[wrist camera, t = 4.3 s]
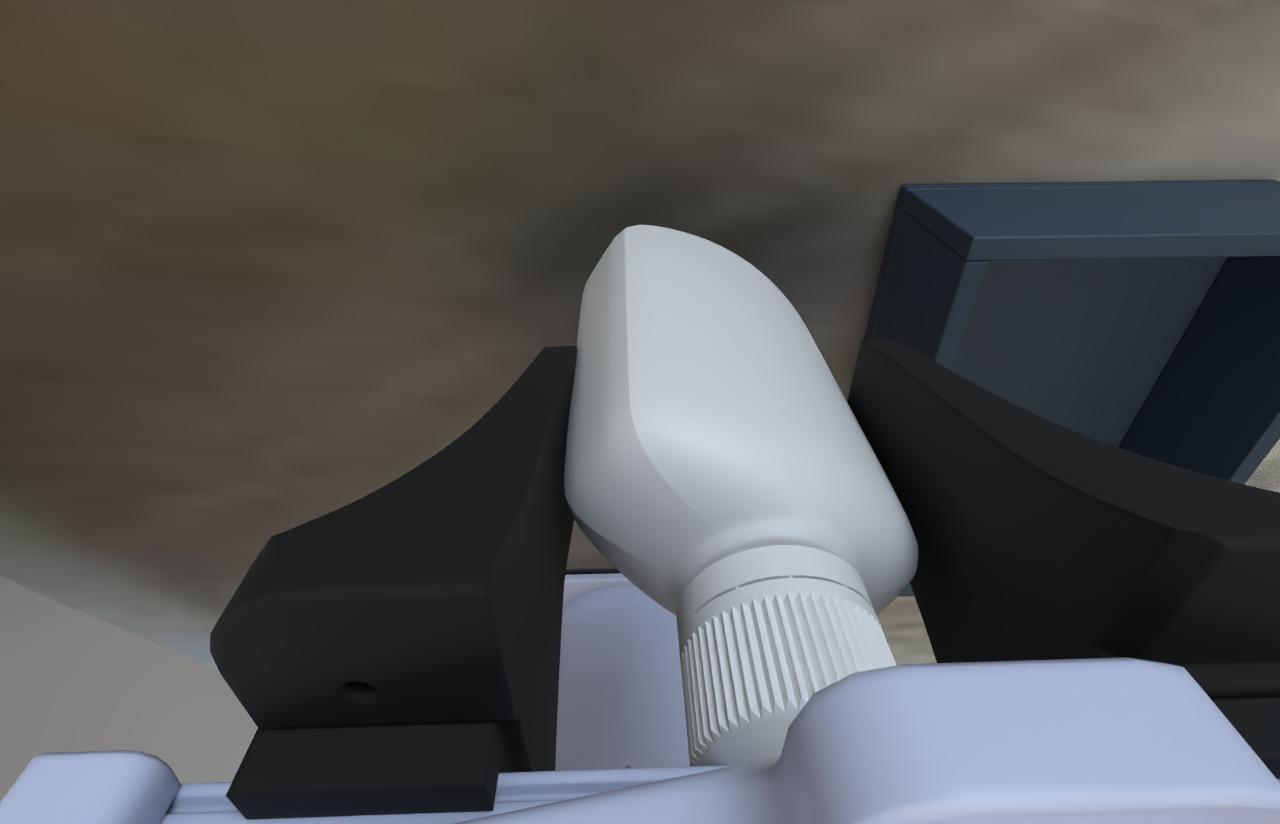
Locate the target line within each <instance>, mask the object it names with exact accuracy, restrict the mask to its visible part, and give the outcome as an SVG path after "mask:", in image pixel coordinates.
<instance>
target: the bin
mask: <svg viewBox="0 0 1280 824" xmlns="http://www.w3.org/2000/svg"><path fill="white" fill-rule="evenodd" d="M877 340H893V341H896V342H898V343H901V344H903V345H905V346H907V347H909V348H911V349H913V350H915V351H917V352H919V353H920V354H922V355H924V356H926V357H928V358H930V359H931V360H933V361H935V362H937V363H939V364H940V365H942V366H944V367H946V368H948V369H949V370H951V371H953V372H955V373H956V374H958V375H960V376H962V377H964V378H965V379H967V380H969V381H971V382H973V383H975V384H976V385H978V386H980V387H982V388H984V389H986V390H988V391H989V392H991V393H993V394H995V395H997V396H999V397H1001V398H1003V399H1005V400H1007V401H1009V402H1011V403H1013V404H1015V405H1017V406H1019V407H1021V408H1023V409H1025V410H1027V411H1029V412H1031V413H1034V414H1036V415H1038V416H1040V417H1042V418H1045V419H1047V420H1049V421H1051V422H1054V423H1056V424H1059V425H1061V426H1063V427H1066V428H1068V429H1071V430H1073V431H1076V432H1078V433H1081V434H1083V435H1086V436H1088V437H1090V438H1093V439H1096V440H1098V441H1101V442H1104V443H1107V444H1109V445H1112V446H1115V447H1118V448H1121V449H1124V450H1127V451H1130V452H1133V453H1136V454H1139V455H1142V456H1145V457H1148V458H1151V459H1154V460H1157V461H1160V462H1163V463H1167V464H1170V465H1173V466H1177V467H1180V468H1184V469H1187V470H1190V471H1194V472H1197V473H1201V474H1205V475H1209V476H1213V477H1217V478H1220V479H1224V480H1228V481H1232V482H1236V483H1239V484H1243V485H1244V484H1245V483H1246V482H1247V480H1248V479H1249V478H1250V476H1251V475H1252V474H1253V473H1254V471H1255V470H1256V469H1257V467H1258V466H1259V465H1260V463H1261V462H1262V461H1263V459H1264V458H1265V457H1266V455H1267V454H1268V453H1269V452H1270V450H1271V449H1272V448H1273V446H1274V445H1275V444H1276V442H1277V441H1278V440H1279V438H1280V182H1279V181H1276V180H1236V181H1157V182H1078V183H1000V184H921V185H902V186H901V191H900V195H899V199H898V203H897V208H896V212H895V216H894V220H893V224H892V229H891V233H890V237H889V241H888V246H887V250H886V254H885V258H884V262H883V267H882V271H881V275H880V279H879V284H878V288H877V292H876V296H875V301H874V305H873V309H872V313H871V317H870V322H869V326H868V330H867V334H866V339H865V341H877ZM899 596H914V593H913V590H912V587H911V585H910V583H909V584H908V586H907V587H906V588H905V590H904V591H903V592H902V593H901V594H900V595H899Z"/></svg>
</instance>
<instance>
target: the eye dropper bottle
mask: <svg viewBox="0 0 1280 824" xmlns="http://www.w3.org/2000/svg"><path fill="white" fill-rule="evenodd" d="M564 488H565V497H566V499H567V502H568V505H569V507H570V510H571V512H572V515H573V518H574V519H575V521H576V522H577V524H578V525H579V527H580V528H581V529H582V531H583V532H584V533H585V535H586V536H587V537H588V539H589V540H590V541H591V542H592V543H593V544H594V545H595V547H596V548H597V549H598V550H599V551H600V552H601V553H602V554H603V556H604V557H605V558H606V559H607V560H608V561H609V562H610V563H611V564H612V565H613V566H614V567H615V568H616V569H617V570H618V571H619V572H620V573H621V574H622V575H623V576H624V577H626V578H627V579H628V580H629V581H630V582H632V583H633V584H634V585H635V586H636V587H637V588H639V589H640V590H641V591H642V592H643V593H644V594H646V595H647V596H648V597H650V598H651V599H653V600H654V601H655V602H657V603H658V604H659V605H661V606H662V607H663V608H665V609H666V610H668V611H669V612H671V613H673V614H674V615H676V619H677V630H678V641H679V652H680V663H681V673H682V684H683V695H684V706H685V717H686V728H687V739H688V750H689V761H690V766H712V765H730V766H734V765H739V764H744V763H749V762H754V761H758V760H763V759H768V758H774V757H779V756H781V754H782V750H783V746H784V742H785V738H786V734H787V730H788V727H789V726H790V724H791V723H792V722H793V720H794V719H795V718H796V716H797V715H798V714H799V712H800V711H801V710H802V708H803V707H804V706H805V704H806V703H807V702H808V700H809V699H810V698H811V696H812V695H813V694H814V693H815V692H817V691H819V690H821V689H823V688H825V687H827V686H829V685H831V684H833V683H835V682H837V681H839V680H841V679H843V678H844V677H846V676H848V675H850V674H852V673H856V672H862V671H868V670H873V669H879V668H885V667H890V666H896V663H895V660H894V658H893V655H892V653H891V650H890V648H889V645H888V643H887V640H886V638H885V636H884V633H883V631H882V628H881V625H880V623H879V620H878V618H877V616H876V614H877V613H879V612H880V611H881V610H883V609H884V608H885V607H886V606H888V605H889V604H890V603H891V602H892V601H893V600H894V599H895V598H896V597H898V596H899V595H900V594H901V593H902V592H903V591H904V590H905V588H906V587H907V586H908V584H909V583H910V581H911V580H912V579H913V577H914V575H915V573H916V570H917V565H918V554H919V552H918V543H917V540H916V538H915V535H914V532H913V529H912V527H911V524H910V522H909V520H908V517H907V515H906V513H905V511H904V509H903V507H902V505H901V503H900V501H899V499H898V497H897V495H896V493H895V491H894V489H893V487H892V485H891V483H890V481H889V479H888V478H887V476H886V474H885V472H884V470H883V468H882V466H881V464H880V462H879V460H878V458H877V457H876V455H875V453H874V451H873V449H872V447H871V445H870V444H869V442H868V440H867V438H866V436H865V434H864V432H863V430H862V429H861V427H860V425H859V423H858V421H857V419H856V417H855V416H854V414H853V412H852V410H851V408H850V406H849V404H848V402H847V401H846V399H845V397H844V395H843V393H842V391H841V390H840V388H839V386H838V384H837V382H836V380H835V378H834V377H833V375H832V373H831V371H830V369H829V367H828V366H827V364H826V362H825V360H824V358H823V356H822V354H821V353H820V351H819V349H818V347H817V345H816V343H815V342H814V340H813V338H812V336H811V334H810V332H809V331H808V329H807V327H806V325H805V324H804V322H803V320H802V319H801V317H800V316H799V314H798V313H797V311H796V310H795V308H794V307H793V306H792V304H791V303H790V302H789V300H788V299H787V298H786V297H785V296H784V294H783V293H782V292H781V291H780V290H779V289H778V288H777V287H776V286H775V285H774V284H773V283H772V282H771V281H770V280H769V279H768V278H767V277H766V276H765V275H764V274H763V273H761V272H760V271H759V270H758V269H756V268H755V267H754V266H753V265H751V264H750V263H749V262H747V261H746V260H744V259H743V258H741V257H740V256H738V255H736V254H735V253H733V252H731V251H729V250H728V249H726V248H724V247H722V246H720V245H718V244H715V243H713V242H711V241H709V240H706V239H703V238H701V237H698V236H695V235H692V234H689V233H685V232H682V231H678V230H674V229H670V228H664V227H659V226H651V225H636V226H631V227H626V228H625V229H624V230H623V231H621V232H620V233H619V234H618V235H617V236H616V237H615V238H614V239H613V241H612V242H611V244H610V245H609V246H608V248H607V249H606V251H605V253H604V254H603V256H602V257H601V259H600V261H599V262H598V264H597V265H596V267H595V269H594V270H593V272H592V273H591V275H590V277H589V279H588V280H587V282H586V284H585V288H584V292H583V296H582V302H581V311H580V319H579V328H578V337H577V357H576V366H575V376H574V383H573V390H572V396H571V403H570V411H569V421H568V430H567V442H566V456H565V470H564Z"/></svg>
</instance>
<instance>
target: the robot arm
mask: <svg viewBox="0 0 1280 824" xmlns="http://www.w3.org/2000/svg"><path fill="white" fill-rule="evenodd" d="M576 357H577V346H564V347H545V348H544V349H543V350H542V351H541V352H540V353H539V354H538V356H537V357H536V358H535V359H534V361H533V362H532V363H531V364H530V366H529V367H528V368H527V369H526V371H525V372H524V373H523V374H522V375H521V376H520V378H519V379H518V380H517V381H516V382H515V383H514V385H513V386H512V387H511V388H510V389H509V390H508V391H507V392H506V393H505V395H504V396H503V397H502V398H501V399H500V400H499V401H498V402H497V403H496V404H495V405H494V406H493V407H492V408H491V409H490V410H489V411H488V412H487V413H486V414H485V415H484V416H483V417H482V418H481V419H480V420H479V421H478V422H477V423H476V424H475V425H473V426H472V427H471V428H470V429H469V430H467V431H466V432H465V433H464V434H463V435H461V436H460V437H459V438H458V439H456V440H455V441H454V442H452V443H451V444H450V445H448V446H447V447H446V448H444V449H443V450H442V451H440V452H439V453H437V454H436V455H435V456H433V457H431V458H430V459H428V460H427V461H425V462H424V463H422V464H420V465H419V466H417V467H416V468H414V469H413V470H411V471H409V472H408V473H406V474H405V475H403V476H402V477H400V478H398V479H397V480H395V481H393V482H391V483H389V484H388V485H386V486H384V487H382V488H380V489H378V490H376V491H375V492H373V493H371V494H369V495H367V496H365V497H363V498H361V499H359V500H357V501H355V502H353V503H351V504H349V505H346V506H344V507H342V508H340V509H338V510H336V511H333V512H331V513H329V514H326V515H324V516H321V517H319V518H317V519H314V520H312V521H309V522H307V523H305V524H302V525H300V526H297V527H295V528H292V529H290V530H288V531H285V532H283V533H280V534H277V535H274V536H272V537H271V538H270V540H269V541H268V543H267V544H266V545H265V547H264V548H263V550H262V551H261V552H260V554H259V555H258V557H257V558H256V560H255V561H254V563H253V564H252V566H251V567H250V569H249V571H248V572H247V574H246V576H245V577H244V579H243V580H242V582H241V584H240V585H239V587H238V589H237V590H236V592H235V594H234V595H233V597H232V599H231V600H230V602H229V604H228V605H227V607H226V608H225V610H224V612H223V613H222V615H221V617H220V618H219V620H218V622H217V623H216V625H215V627H214V629H213V630H212V632H211V634H210V652H211V654H212V657H213V659H214V661H215V663H216V665H217V667H218V670H219V671H220V673H221V675H222V676H223V678H224V679H225V681H226V682H227V683H228V685H229V686H230V688H231V689H232V691H233V692H234V693H235V695H236V696H237V698H238V699H239V701H240V702H241V704H242V705H243V706H244V708H245V709H246V711H247V712H248V713H249V715H250V716H251V718H252V719H253V721H254V722H255V724H256V725H257V726H258V730H257V731H256V734H255V736H254V738H253V740H252V742H251V744H250V746H249V748H248V750H247V752H246V754H245V756H244V759H243V761H242V763H241V765H240V767H239V769H238V771H237V773H236V775H235V777H234V779H233V781H232V782H217V783H187V784H180V782H179V780H178V778H177V777H176V775H175V773H174V772H173V770H172V769H171V768H170V767H169V766H168V764H167V763H165V762H164V761H163V760H161V759H160V758H158V757H156V756H154V755H150V754H147V753H144V752H140V751H128V750H119V751H90V752H59V753H44V754H41V755H38V756H35V757H34V758H33V759H32V761H31V762H30V763H29V765H28V766H27V767H26V769H25V770H24V771H23V773H22V774H21V775H20V777H19V778H18V779H17V781H16V782H15V783H14V785H13V786H12V787H11V789H10V790H9V791H8V792H7V794H6V795H5V796H4V798H3V799H2V800H1V802H0V824H1280V493H1279V492H1274V491H1269V490H1264V489H1260V488H1255V487H1251V486H1247V485H1243V484H1239V483H1236V482H1232V481H1228V480H1224V479H1220V478H1217V477H1213V476H1209V475H1205V474H1201V473H1197V472H1194V471H1190V470H1187V469H1184V468H1180V467H1177V466H1173V465H1170V464H1167V463H1163V462H1160V461H1157V460H1154V459H1151V458H1148V457H1145V456H1142V455H1139V454H1136V453H1133V452H1130V451H1127V450H1124V449H1121V448H1118V447H1115V446H1112V445H1109V444H1107V443H1104V442H1101V441H1098V440H1096V439H1093V438H1090V437H1088V436H1086V435H1083V434H1081V433H1078V432H1076V431H1073V430H1071V429H1068V428H1066V427H1063V426H1061V425H1059V424H1056V423H1054V422H1051V421H1049V420H1047V419H1045V418H1042V417H1040V416H1038V415H1036V414H1034V413H1031V412H1029V411H1027V410H1025V409H1023V408H1021V407H1019V406H1017V405H1015V404H1013V403H1011V402H1009V401H1007V400H1005V399H1003V398H1001V397H999V396H997V395H995V394H993V393H991V392H989V391H988V390H986V389H984V388H982V387H980V386H978V385H976V384H975V383H973V382H971V381H969V380H967V379H965V378H964V377H962V376H960V375H958V374H956V373H955V372H953V371H951V370H949V369H948V368H946V367H944V366H942V365H940V364H939V363H937V362H935V361H933V360H931V359H930V358H928V357H926V356H924V355H922V354H920V353H919V352H917V351H915V350H913V349H911V348H909V347H907V346H905V345H903V344H901V343H898V342H896V341H893V340H877V341H861V345H860V349H859V353H858V358H857V362H856V366H855V371H854V375H853V380H852V384H851V388H850V393H849V397H848V401H847V402H848V404H849V406H850V408H851V410H852V412H853V414H854V416H855V417H856V419H857V421H858V423H859V425H860V427H861V429H862V430H863V432H864V434H865V436H866V438H867V440H868V442H869V444H870V445H871V447H872V449H873V451H874V453H875V455H876V457H877V458H878V460H879V462H880V464H881V466H882V468H883V470H884V472H885V474H886V476H887V478H888V479H889V481H890V483H891V485H892V487H893V489H894V491H895V493H896V495H897V497H898V499H899V501H900V503H901V505H902V507H903V509H904V511H905V513H906V515H907V517H908V520H909V522H910V524H911V527H912V529H913V532H914V535H915V538H916V540H917V543H918V552H919V554H918V565H917V570H916V573H915V575H914V577H913V579H912V580H911V581H910V585H911V587H912V590H913V593H914V596H915V598H916V601H917V604H918V607H919V610H920V612H921V615H922V618H923V621H924V624H925V627H926V630H927V633H928V636H929V639H930V642H931V645H932V649H933V652H934V655H935V658H936V661H937V663H930V664H902V665H896V666H890V667H885V668H879V669H873V670H868V671H862V672H856V673H852V674H850V675H848V676H846V677H844V678H843V679H841V680H839V681H837V682H835V683H833V684H831V685H829V686H827V687H825V688H823V689H821V690H819V691H817V692H815V693H814V694H813V695H812V696H811V698H810V699H809V700H808V702H807V703H806V704H805V706H804V707H803V708H802V710H801V711H800V712H799V714H798V715H797V716H796V718H795V719H794V720H793V722H792V723H791V724H790V726H789V727H788V730H787V734H786V738H785V742H784V746H783V750H782V754H781V756H779V757H774V758H768V759H763V760H758V761H754V762H749V763H744V764H739V765H734V766H730V765H712V766H690V761H689V750H688V739H687V728H686V717H685V706H684V695H683V684H682V673H681V663H680V652H679V641H678V630H677V619H676V615H674V614H673V613H671V612H669V611H668V610H666V609H665V608H663V607H662V606H661V605H659V604H658V603H657V602H655V601H654V600H653V599H651V598H650V597H648V596H647V595H646V594H644V593H643V592H642V591H641V590H640V589H639V588H637V587H636V586H635V585H634V584H633V583H632V582H630V581H629V580H628V579H627V578H626V577H624V576H623V575H622V574H621V573H612V574H574V575H565V573H566V564H567V558H568V552H569V546H570V540H571V534H572V528H573V522H574V518H573V515H572V512H571V510H570V507H569V505H568V502H567V499H566V497H565V488H564V470H565V456H566V442H567V430H568V421H569V411H570V403H571V396H572V390H573V383H574V376H575V366H576Z"/></svg>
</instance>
